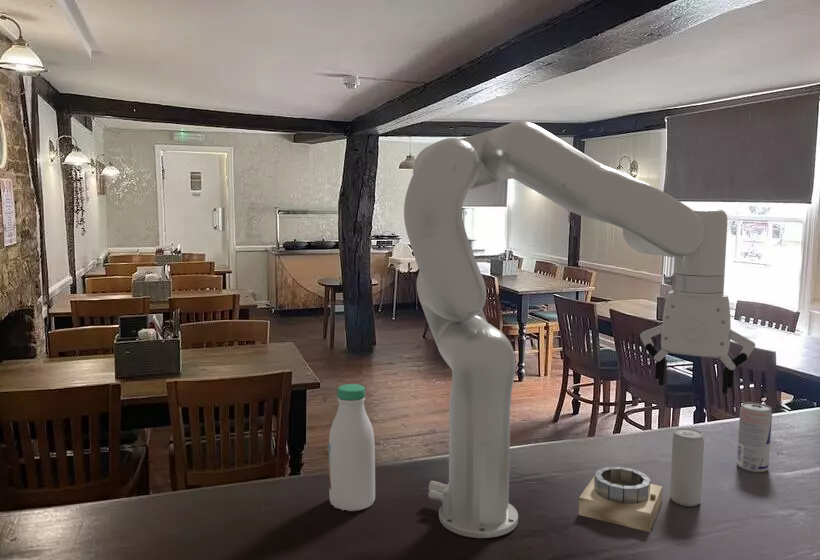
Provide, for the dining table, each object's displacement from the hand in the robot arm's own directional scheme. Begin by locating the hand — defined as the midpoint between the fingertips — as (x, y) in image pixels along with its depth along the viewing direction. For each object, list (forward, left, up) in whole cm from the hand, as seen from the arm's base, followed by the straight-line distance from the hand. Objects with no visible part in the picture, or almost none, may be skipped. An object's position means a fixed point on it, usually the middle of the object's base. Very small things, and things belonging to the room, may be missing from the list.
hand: (693, 387), depth 107 cm
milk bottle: (-49, -28, -20) cm, 60 cm away
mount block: (-9, -8, -20) cm, 23 cm away
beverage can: (0, 0, -20) cm, 20 cm away
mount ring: (-9, -8, -17) cm, 21 cm away
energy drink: (+9, +22, -20) cm, 31 cm away
